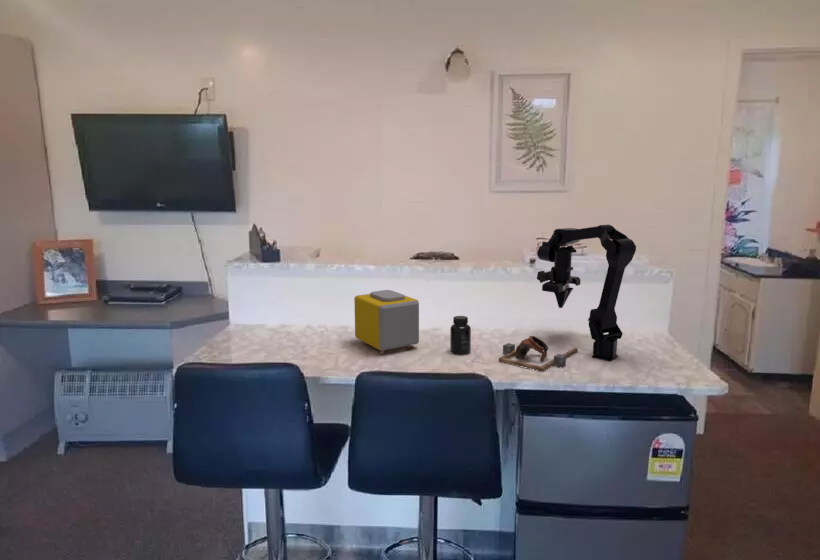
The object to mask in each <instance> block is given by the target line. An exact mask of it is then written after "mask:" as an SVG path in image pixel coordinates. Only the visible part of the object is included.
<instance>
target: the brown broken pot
mask: <svg viewBox="0 0 820 560" xmlns="http://www.w3.org/2000/svg"><path fill="white" fill-rule="evenodd" d="M537 343H538V344H537ZM530 346H532V347H531V348H530ZM531 349H533V350H534V351H536V352H538V353H539V354H541V357H540V359H539V361H540V362H544V360H545V359H546V358H547V355H548V350H549V346H548V345H547V344H546V343H545V342H544V341H543V340H542V339H540V338H538V337H536V336H534V335H530V336H528V338H524V339H523V340H522V341H521V342H520V343H519V344H518V345H517V346H516V347H515V350H516V355H515V356H514V357H515V358H516V359H517V358H518V359H521V360H525V357H526V356H527V354H528V353H529V352H530V350H531Z"/></svg>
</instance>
